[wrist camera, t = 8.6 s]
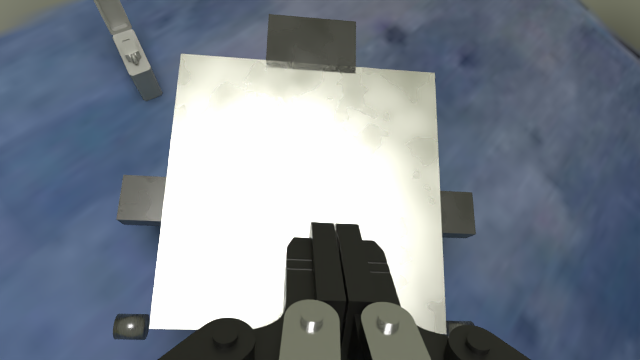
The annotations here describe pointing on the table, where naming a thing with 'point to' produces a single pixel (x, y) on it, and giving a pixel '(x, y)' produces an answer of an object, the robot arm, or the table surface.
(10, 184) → the table surface
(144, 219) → the grey rectangular box
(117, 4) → the lighter
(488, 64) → the table surface
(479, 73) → the table surface
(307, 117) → the lid
